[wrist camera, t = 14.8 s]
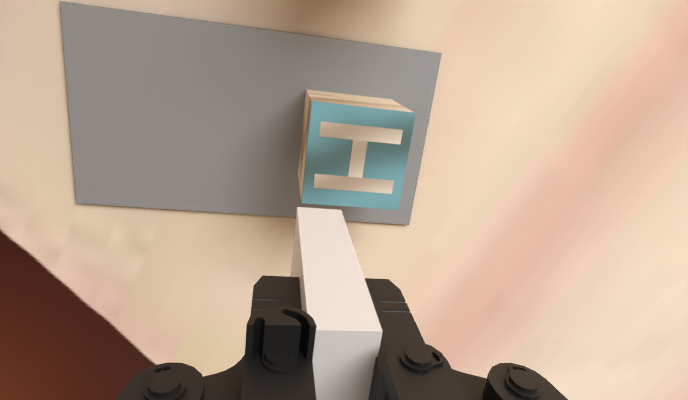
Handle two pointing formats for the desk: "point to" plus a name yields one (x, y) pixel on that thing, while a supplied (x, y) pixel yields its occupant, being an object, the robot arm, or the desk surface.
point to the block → (353, 150)
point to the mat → (218, 110)
